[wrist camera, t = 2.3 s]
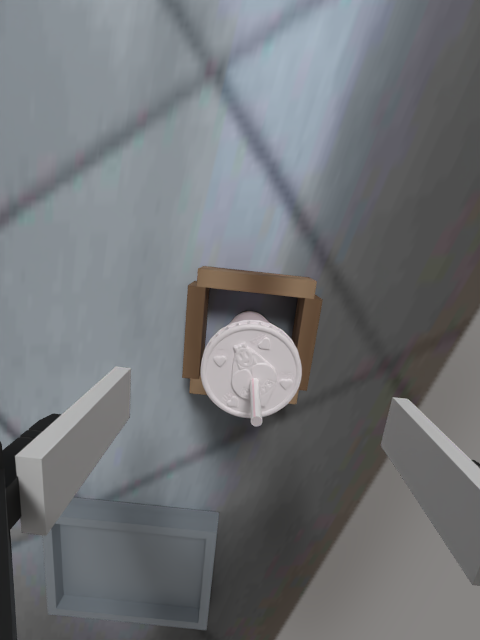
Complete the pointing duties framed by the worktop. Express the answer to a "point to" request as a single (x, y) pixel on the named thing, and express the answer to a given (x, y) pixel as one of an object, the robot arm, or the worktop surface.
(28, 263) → the worktop surface
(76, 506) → the tray
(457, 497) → the robot arm
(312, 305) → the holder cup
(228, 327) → the smoothie
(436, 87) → the worktop surface
